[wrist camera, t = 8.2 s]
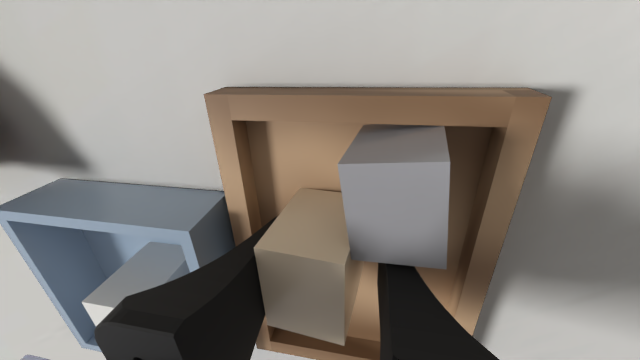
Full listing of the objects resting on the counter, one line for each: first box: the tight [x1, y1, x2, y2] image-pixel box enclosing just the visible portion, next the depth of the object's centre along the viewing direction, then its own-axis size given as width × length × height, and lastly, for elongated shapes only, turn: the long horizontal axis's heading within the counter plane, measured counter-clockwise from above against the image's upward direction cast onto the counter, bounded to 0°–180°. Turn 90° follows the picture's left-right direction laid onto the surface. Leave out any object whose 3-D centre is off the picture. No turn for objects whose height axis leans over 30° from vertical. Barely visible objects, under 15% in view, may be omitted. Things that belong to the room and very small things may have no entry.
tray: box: [204, 87, 552, 360], centre depth 14 cm, size 16×12×2 cm
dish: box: [0, 179, 236, 352], centre depth 17 cm, size 11×11×4 cm
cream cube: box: [254, 188, 364, 346], centre depth 12 cm, size 4×3×4 cm
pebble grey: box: [82, 242, 190, 326], centre depth 16 cm, size 4×3×4 cm
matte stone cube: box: [337, 124, 450, 269], centre depth 10 cm, size 4×3×4 cm
